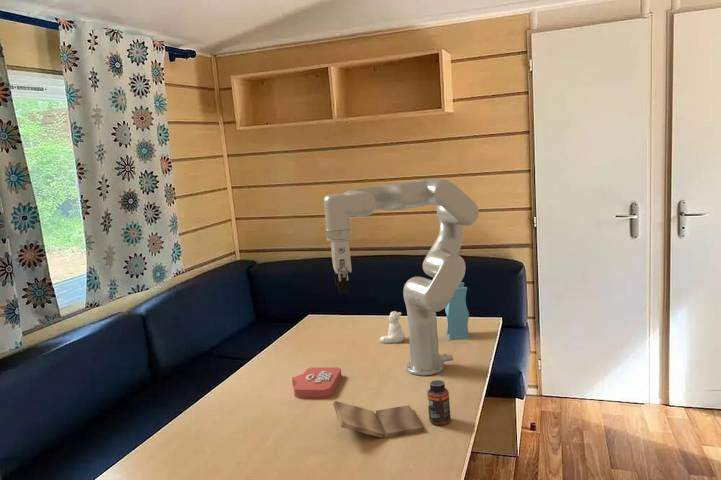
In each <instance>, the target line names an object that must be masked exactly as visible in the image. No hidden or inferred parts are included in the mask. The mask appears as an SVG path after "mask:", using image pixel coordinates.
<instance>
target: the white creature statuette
mask: <svg viewBox="0 0 721 480" xmlns="http://www.w3.org/2000/svg"><path fill="white" fill-rule="evenodd" d="M401 316H402V312H401V311H399V312H398V311H396V310H393V311H391V312H390V314H389V317H388V323H389V324H388V325H389V326H388V332H387V335H383V336H380V338H379V343H381V344H399V343H401V342H403V341H404V340H405V333H404V331H403V329H402V326H401V324H400V322H399V320H400V319H401Z"/></svg>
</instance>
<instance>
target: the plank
mask: <svg viewBox="0 0 721 480" xmlns="http://www.w3.org/2000/svg"><path fill="white" fill-rule="evenodd" d="M332 405H333V407H334V411H335V413H336V416H337V419H338V423H339V425H340V428H342V429H343V428H344V429H346V430H351V431H355V432H359V433H362V434H365V435H370V436H374V437H378V438H381V439H384V437H383V436H384V432H383V430H382V428H381V426H380V424H379V422H378V420H377V417H376V415H375V413H376V412H374V411H375V410H370V409H367V408H363V407H359V406H356V405H352V404H349V403H344V402H341V401H338V400H334V401H333V404H332Z"/></svg>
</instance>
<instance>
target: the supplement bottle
mask: <svg viewBox="0 0 721 480" xmlns="http://www.w3.org/2000/svg"><path fill="white" fill-rule="evenodd" d="M426 395H427V406H428V407H427V408H428V419H429V420H428V421H429V422H430V423H431V424H433V425H435V426H445V425H447V424H448V423H450V422H451V405H450V392H449V389H448V388H446V384H445V381H444V380H440V379H436V380H432V381H430V383H429V389H428V390H427V394H426Z"/></svg>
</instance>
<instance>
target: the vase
mask: <svg viewBox="0 0 721 480" xmlns="http://www.w3.org/2000/svg"><path fill="white" fill-rule="evenodd" d="M467 290H468V287H467V286H465V282H461V283H460V285H459V286H458V288H457V290H456V292H455V293H454V295H453V297H452V298H451V300H450V302H449V303H448V305H447V306H446V307H445V308H444V310H445V315H446V319H447V328H446V329H447V330H446V335H448V336H449V341H454V340H469V338H470V333H469V326H468V325H469V318H470V313H469V310H468V307H467V302H466V296H467Z"/></svg>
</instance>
